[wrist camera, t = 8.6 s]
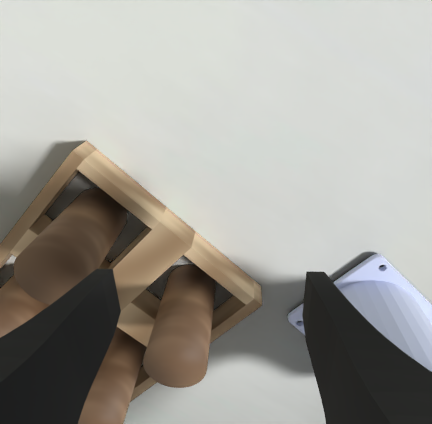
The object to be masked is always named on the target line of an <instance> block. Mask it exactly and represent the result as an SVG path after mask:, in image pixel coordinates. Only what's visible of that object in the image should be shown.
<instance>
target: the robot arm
mask: <svg viewBox="0 0 432 424" xmlns="http://www.w3.org/2000/svg"><path fill="white" fill-rule="evenodd" d="M380 265H384V266H383V267H381V268H379V266H380ZM120 313H121V309H120V304H119V299H118V294H117V288H116V283H115V278H114V273H113V269H96V270H95V271H93V272H92V273H91V274H89V275H88V276H87V277H85V278H84V279H83V280H82V281H80V282H79V283H78V284H77V285H75V286H74V287H73V288H72V289H70V290H69V291H68V292H66V293H65V294H64V295H63V296H61V297H60V298H59V299H58V300H56V301H55V302H54V303H52V304H51V305H49V306H48V307H47V308H45V309H44V310H42V311H41V312H40V313H38V314H37V315H35V316H34V317H33V318H31V319H30V320H28V321H27V322H25V323H24V324H22V325H20V326H19V327H17V328H16V329H14V330H12V331H11V332H9V333H7V334H6V335H4V336H2V337H1V338H0V424H78V421H79V418H80V415H81V412H82V409H83V406H84V403H85V401H86V398H87V396H88V393H89V391H90V388H91V386H92V384H93V382H94V379H95V377H96V375H97V373H98V370H99V368H100V366H101V364H102V361H103V359H104V357H105V355H106V352H107V350H108V348H109V346H110V343H111V341H112V339H113V336H114V333H115V330H116V327H117V323H118V320H119V316H120ZM288 321H289V322H290V323H291V324H292V325H293V326H294V327H296V328H297V329H298V330H299V331H300V332H302V333H303V334H304V335H305V338H306V343H307V347H308V351H309V354H310V358H311V362H312V366H313V369H314V373H315V377H316V381H317V384H318V388H319V392H320V395H321V399H322V404H323V408H324V412H325V418H326V424H432V304H431V303H430V302H429V301H428V300H427V299H426V298H425V297H424V296H423V295H422V294H421V293H420V292H419V291H418V290H417V289H416V288H415V287H414V286H413V285H412V284H411V283H410V282H409V281H407V280H406V279H405V278H404V277H403V276H402V275H401V274H400V273H399V272H398V271H397V270H396V269H395V268H394V267H393V266H392V265H391V264H390V263H389V262H388V261H387V260H386V259H385V258H384V257H383V256H382V255H381V254H374V255H372V256H370V257H369V258H368V259H366V260H365V261H363V262H362V263H360V264H359V265H357V266H356V267H355V268H353V269H352V270H350V271H349V272H347V273H346V274H344V275H343V276H342V277H340V278H339V279H337V280H336V281H334V282H332V281H331V279H330V278H329V277H328V276H327V275H326V274H325V272H307V274H306V284H305V294H304V303H303V304H301V305H300V306H298V307H297V308H295V309H294V310H293V311H291V312H290V313H289V314H288ZM297 321H302V322H297Z"/></svg>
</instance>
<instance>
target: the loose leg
mask: <svg viewBox="0 0 432 424" xmlns="http://www.w3.org/2000/svg"><path fill="white" fill-rule="evenodd" d="M126 222H127V210H126V208H125V207H123V206H122V205H121V204H120V203H118V202H117V201H116V200H115V199H113V198H112V197H111V196H110V195H108V194H107V193H106V192H105V191H103V190H102V189H101V188H92V189H88V190H85V191H84V192H82V193H81V194H80V195H79V196H78V197H77V198H76V199H75V200H74V201H73V202H72V203H71V204H70V205H69V206H68V207H67V208H66V209H65V210H64V211H63V212H62V213H61V214H60V215H59V216H58V217H57V218H56V219H55V220H54V221H53V222H52V223H51V224H50V225H49V226H48V227H47V228H45V229H44V230H43V231H42V232H41V233H40V234H39V235H38V236H37V237H36V238H35V239H34V240H33V241H32V242H31V243H30V244H29V245H28V246H27V247H26V248H25V249H24V250H23V251H22V252H21V253H20V254H19V255H18V256H17V258H16V260H15V262H14V275H15V278H16V280H17V282H18V284H19V285H20V287H21V288H22V289H23V290H24V291H25V292H26V293H27V294H28V295H29V296H31V297H32V298H34V299H36V300H38V301H40V302H42V303H45V304H49V305H51V304H52V303H54V302H55V301H56V300H58V299H59V298H60V297H61V296H63V295H64V294H65V293H66V292H68V291H69V290H70V289H72V288H73V287H74V286H75V285H77V284H78V283H79V282H80V281H82V280H83V279H84V278H85V277H87V276H88V275H89V274H91V273H92V272H93V271H95V270H96V269H98V268H99V267H100V265H101V263H102V262H103V260H104V259H105V257H106V255H107V254H108V252H109V250H110V249H111V247H112V246H113V244H114V242H115V241H116V239H117V237H118V236H119V234H120V233H121V231H122V229H123V228H124V226H125V224H126Z"/></svg>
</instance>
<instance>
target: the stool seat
mask: <svg viewBox="0 0 432 424" xmlns="http://www.w3.org/2000/svg"><path fill="white" fill-rule="evenodd" d="M79 171H80V172H81V173H82V174H83V175H85V176H86V177H87V178H88V179H90V180H91V181H92V182H93V183H95V184H96V185H97V186H98V187H100V188H101V189H102V190H103V191H105V192H106V193H107V194H108V195H110V196H111V197H112V198H113V199H115V200H116V201H117V202H118V203H120V204H121V205H122V206H123V207H125V208H126V209H127V210H128V211H130V212H131V213H132V214H133V215H135V216H136V217H137V218H138V219H140V220H141V221H142V222H143V223H145V224H146V225H147V227H146V228H145V229H144V230H143V231H142V232H141V233H140V234H139V235H138V237H137V238H136V239H135V240H134V241H133V242H132V243H131V244H130V245H129V246H128V247H127V248H126V249H125V250H124V251H123V252H122V253H121V254H120V255H119V256H118V257H117V258H116V259H115V260H114V261H113V262H112V263H110V262H108V261H107V260H106V259H104V260H103V262H102V263H101V265H100V267H99V268H98V269H113V273H114V278H115V283H116V288H117V294H118V299H119V304H120V309H121V313H120V316H119V320H118V323H117V327H116V330H115V333H114V336H113V339H112V341H111V343H110V346H109V348H108V350H107V352H106V355H105V357H104V359H103V361H102V364H101V366H100V368H99V370H98V373H97V375H96V377H95V379H94V382H93V384H92V386H91V388H90V391H89V393H88V396H87V398H86V401H85V403H84V406H83V409H82V412H81V415H80V418H79V421H78V424H123V422H124V419H125V416H126V413H127V409H128V406H129V403H130V402H131V401H132V400H133V399H135V398H136V397H138V396H139V395H140V394H142V393H143V392H144V391H146V390H147V389H149V388H150V387H151V386H153V385H154V384H155V383H157V382H158V383H160V384H163V385H165V386H169V387H176V388H183V387H189V386H192V385H195V384H197V383H198V382H200V381H201V380H202V379H203V378H204V376H205V374H206V371H207V363H208V354H209V345H210V343H211V342H213V341H214V340H216V339H217V338H218V337H220V336H221V335H222V334H224V333H225V332H226V331H228V330H229V329H231V328H232V327H233V326H235V325H236V324H237V323H239V322H240V321H242V320H243V319H244V318H246V317H247V316H248V315H250V314H251V313H252V312H254V311H255V310H257V309H258V308H259V307H261V306H262V294H261V286H260V285H259V284H258V283H257V282H255V281H254V280H253V279H252V278H251V277H249V276H248V275H247V274H246V273H245V272H243V271H242V270H241V269H240V268H239V267H237V266H236V265H235V264H234V263H233V262H231V261H230V260H229V259H228V258H227V257H225V256H224V255H223V254H222V253H221V252H219V251H218V250H217V249H216V248H215V247H214V246H212V245H211V244H210V243H209V242H208V241H206V240H205V239H204V238H203V237H202V236H200V235H199V234H198V233H197V232H196V231H194V230H193V229H192V228H191V227H190V226H188V225H187V224H186V223H185V222H184V221H182V220H181V219H180V218H179V217H178V216H176V215H175V214H174V213H173V212H172V211H170V210H169V209H168V208H167V207H166V206H164V205H163V204H162V203H161V202H160V201H158V200H157V199H156V198H155V197H154V196H152V195H151V194H150V193H149V192H148V191H146V190H145V189H144V188H143V187H142V186H140V185H139V184H138V183H137V182H136V181H134V180H133V179H132V178H131V177H130V176H128V175H127V174H126V173H125V172H124V171H123V170H121V169H120V168H119V167H118V166H117V165H115V164H114V163H113V162H112V161H111V160H109V159H108V158H107V157H106V156H105V155H103V154H102V153H101V152H100V151H99V150H97V149H96V148H95V147H94V146H93V145H91V144H90V143H89V142H88V141H85V142H84V143H82V144H81V145H80V146H78V147H77V148H75V149H74V150H72V152H71V153H70V154H69V155H68V157H67V158H66V159H65V161H64V162H63V163H62V165H61V166H60V167H59V168H58V170H57V171H56V172H55V174H54V175H53V176H52V178H51V179H50V180H49V181H48V183H47V184H46V185H45V187H44V188H43V189H42V191H41V192H40V193H39V194H38V196H37V197H36V198H35V200H34V201H33V202H32V204H31V205H30V206H29V207H28V209H27V210H26V211H25V213H24V214H23V215H22V217H21V218H20V219H19V220H18V222H17V223H16V224H15V226H14V227H13V228H12V230H11V231H10V232H9V233H8V235H7V236H6V237H5V239H4V240H3V241H2V243H1V244H0V269H1V268H2V267H3V265H4V264H5V263H6V262H7V260H8V259H9V258H10V257H11V255H14V256H15V257H16V258H17V256H18V255H19V254H20V253H21V252H22V251H23V250H24V249H25V248H26V247H27V246H28V245H29V244H30V243H31V242H32V241H33V240H34V239H35V238H36V237H37V236H38V235H39V234H40V233H41V232H42V231H43V230H44V229H45V228H47V227H48V226H49V225H50V224H51V223H52V222H53V220H52V219H50V218H49V217H48V216H46V215H45V213H46V212H47V211H48V209H49V208H50V207H51V206H52V204H53V203H54V202H55V201H56V199H57V198H58V197H59V196H60V194H61V193H62V192H63V191H64V189H65V188H66V187H67V186H68V184H69V183H70V182H71V181H72V179H73V178H74V177H75V176H76V175H77V173H78V172H79ZM183 255H184V256H186V257H187V258H188V259H189V260H191V261H192V262H193V263H194V264H196V265H183V266H180V267H177V268H176V269H174V270H173V271H172V272H171V273H170V275H169V277H168V280H167V283H166V287H165V290H164V293H163V296H162V300H160V299H158V298H157V297H156V296H154V295H153V294H151V293H150V292H149V291H147V290H146V288H147V287H148V286H149V285H151V284H152V283H153V282H154V281H155V280H156V279H157V278H158V277H159V276H161V275H162V274H163V273H164V272H165V271H166V270H167V269H168V268H169V267H170V266H172V265H173V264H174V263H175V262H176V261H177V260H178V259H179V258H180V257H182V256H183ZM215 280H216V281H217V282H218V283H219V284H221V285H222V286H223V287H224V288H226V289H227V290H228V291H229V292H231V293H232V294H233V296H232V297H231V298H230V299H228V300H227V301H226V302H224V303H223V304H222V305H221V306H219V307H218V308H217V309H215V310H214V311H213V309H214V299H215V290H216V282H215ZM48 306H49V304H45V303H42V302H40V301H38V300H36V299H34V298H32V297H31V296H29V295H28V294H27V293H26V292H25V291H24V290H23V289H22V288H21V287H20V285H19V284H18V282H17V280H16V278H15V275H13V276H12V277H11V278H10V279H9V280H8V281H7V282H6V283H5V284H4V285H3V286H2V287H1V288H0V338H1V337H2V336H4V335H6V334H7V333H9V332H11V331H12V330H14V329H16V328H17V327H19V326H20V325H22V324H24V323H25V322H27V321H28V320H30V319H31V318H33V317H34V316H35V315H37V314H38V313H40V312H41V311H42V310H44V309H45V308H47V307H48ZM145 351H146V352H145ZM144 354H145V355H144ZM142 361H143V366H142V367H141V364H142ZM140 367H141V368H140Z"/></svg>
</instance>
